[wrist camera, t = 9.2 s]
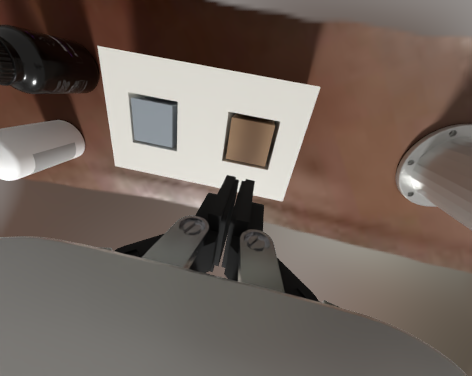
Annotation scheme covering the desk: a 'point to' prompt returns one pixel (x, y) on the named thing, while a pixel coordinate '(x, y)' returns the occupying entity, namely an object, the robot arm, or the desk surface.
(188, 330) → the robot arm
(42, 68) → the supplement bottle
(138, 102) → the slate peg
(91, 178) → the desk surface
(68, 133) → the spray bottle
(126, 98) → the peg board
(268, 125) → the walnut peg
